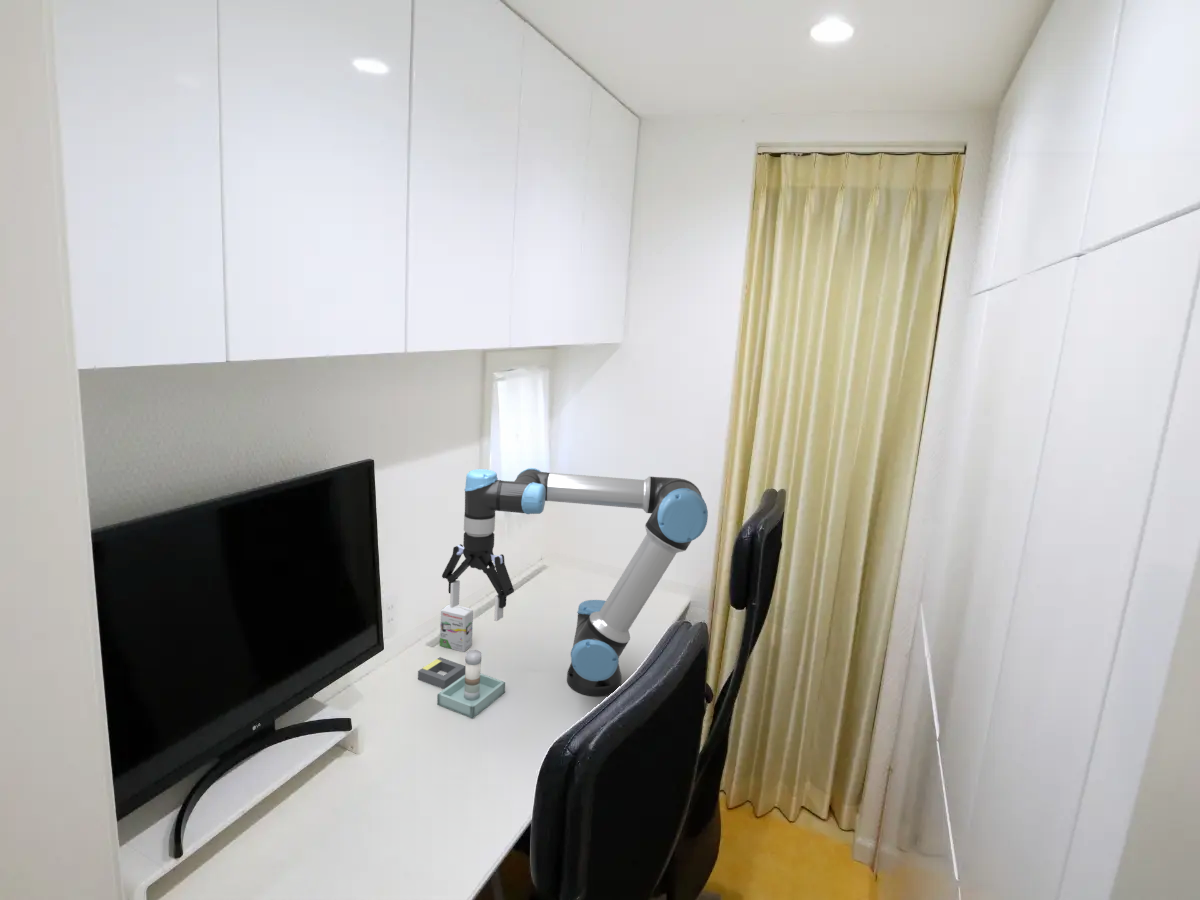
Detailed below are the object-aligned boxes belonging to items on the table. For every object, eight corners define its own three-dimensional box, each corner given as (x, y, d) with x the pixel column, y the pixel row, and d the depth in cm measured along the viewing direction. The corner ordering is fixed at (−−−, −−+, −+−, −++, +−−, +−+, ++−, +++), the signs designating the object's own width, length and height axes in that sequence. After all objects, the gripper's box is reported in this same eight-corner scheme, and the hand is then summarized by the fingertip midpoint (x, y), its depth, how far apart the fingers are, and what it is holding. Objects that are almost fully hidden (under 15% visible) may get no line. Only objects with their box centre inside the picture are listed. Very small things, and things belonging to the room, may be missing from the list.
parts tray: (504, 692, 175) (505, 681, 175) (472, 718, 163) (472, 707, 162) (471, 680, 180) (471, 670, 180) (437, 704, 168) (437, 693, 167)
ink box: (438, 646, 197) (439, 609, 195) (447, 639, 202) (448, 603, 200) (464, 652, 195) (465, 615, 192) (472, 645, 199) (473, 608, 197)
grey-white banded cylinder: (482, 695, 172) (484, 652, 170) (473, 702, 169) (475, 659, 167) (470, 690, 174) (472, 648, 172) (460, 697, 171) (462, 654, 168)
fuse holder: (465, 674, 183) (465, 665, 182) (444, 689, 175) (444, 680, 174) (439, 665, 187) (440, 656, 186) (417, 679, 179) (418, 670, 178)
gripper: (530, 538, 162) (526, 619, 166) (448, 519, 172) (446, 595, 176) (513, 546, 155) (509, 630, 159) (429, 526, 165) (427, 605, 169)
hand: (476, 612), depth 168 cm, fingers open, 13 cm apart
